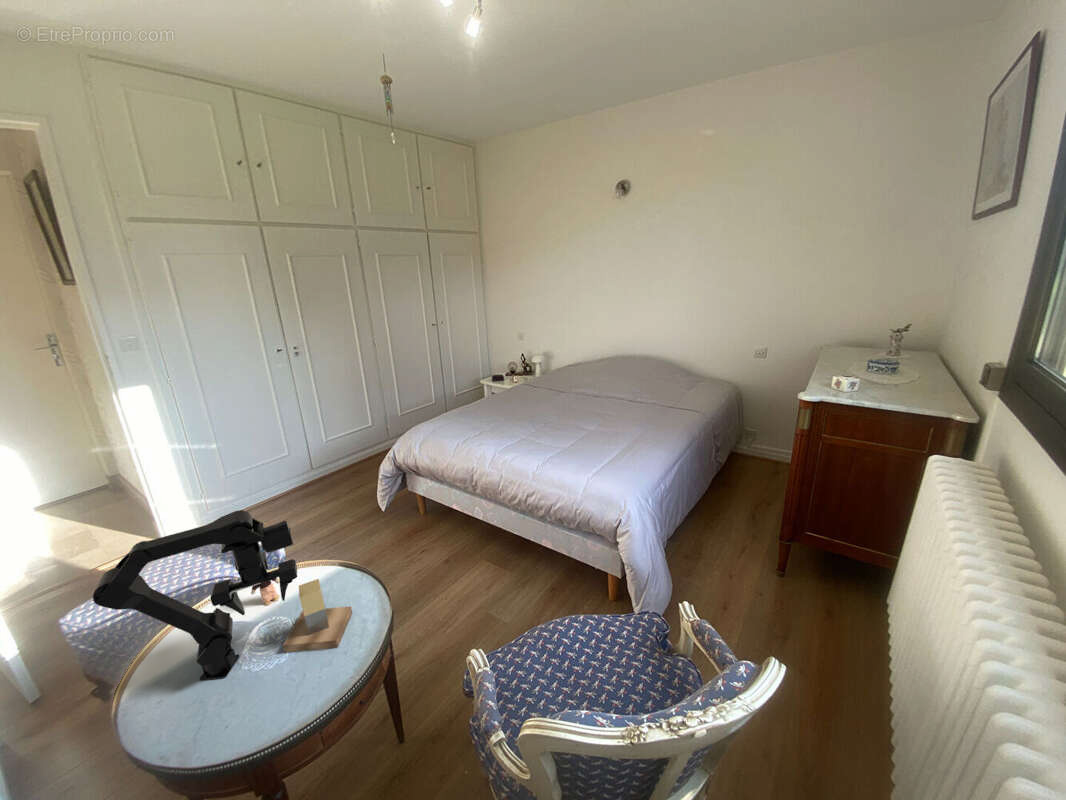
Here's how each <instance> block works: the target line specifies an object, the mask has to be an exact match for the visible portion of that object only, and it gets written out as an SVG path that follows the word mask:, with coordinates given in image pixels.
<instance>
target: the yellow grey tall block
mask: <svg viewBox="0 0 1066 800" xmlns="http://www.w3.org/2000/svg"><path fill="white" fill-rule="evenodd" d="M322 591H323V590H322V587H321V583H320V579H319V578H316V579H313V580H311V581H308V582H305V583H302V584H299V585H298V595H299V601H300V606H301V608H302V611H303V613H304V617H305V620H306V624H307V628H308V632H309V635H311V634H314V633H316V632H319V631H321V630H324V629H326V628H329V622H328V615H327V611H326V609H327V607H326V603H325V599H324V594H323V592H322Z"/></svg>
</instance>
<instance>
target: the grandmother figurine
mask: <svg viewBox="0 0 1066 800" xmlns="http://www.w3.org/2000/svg"><path fill="white" fill-rule="evenodd" d="M273 582H275V583H276V584H280V580H279V578H278V577H277V578H274V579H271V580H268V581H265V582H262V583H260V584H257V585H254V586H251V592H250V594H251V595H255V593H256V591H257V590H258V588H259V594H260V596H261V599H262V601H263V602H262V604H263V605H264V606H269V605H271V603H272V602H274V603H275V602H277V601H278V600H279V598H280V595H279V594H278V593H277V590H276V587H275V586H274V584H273ZM271 600H272V601H271Z"/></svg>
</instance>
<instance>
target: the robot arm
mask: <svg viewBox="0 0 1066 800" xmlns="http://www.w3.org/2000/svg"><path fill="white" fill-rule="evenodd" d="M259 542H260V543H261V547H262V550H263V551H262V550H261V547H260V543H259ZM211 545H221V548H220V549H221V550H220V553H221V554H225V553H229V552H231V553H232V556H233V559H234V566H235V571H237V573H238V575H239V578H240V580H241V581H237V582H235V583H234V582H233V580H232V578H229V579H225V580H223V581H220V582H216V583H214V585H213V586H212V589H211V595H210V603H211V605H212V606H214V607H216V608H215V609H214V610H213V612H204V611H203V612H202V611H201V610H198V609H196V608H194V607H193V606H190V605H188V604H185V603H183V602H181V601H179V600H176V599H175V598H173V597H171V596H168V595H167V594H165V593H162V592H160V591H158V590H155V589H153V588H152V587H150V585H148V583H147V582H146V580H145V579H144V578H143V576H141V575H140V573H141V572H142V571H143V569H144V568H145V567H146V566H147V564H148V563H151V562H155V561H157V560H162V559H166V558H168V557H172V556H175V555H178V554H183V553H186V552H189V551H193V550H196V549H199V548H202V547H206V546H211ZM291 546H294V540H293V535H292V531H291V526H290V527H289V524H288V521H287V520H283V521H279V522H278V523H276V524H272V525H269V526H266V527H264V523H263V522H261V521H259V520H257V519H255V518H254V517H253V516H252V515H251V514H250V513H249V512H248V511H245V510H244V509H240V510H235V511H232V512H229V513H227V514H224V515H222V516H220V517H219V518H217V519H216V520H214V521H213V522H210V523H208V524H206V525H201V526H198V527H194V528H192V529H188V530H184V531H180V532H176V533H172V534H170V535H166V536H162V537H158V538H153V539H151V540H143V541H142V540H141V541H139V542H137V543H136V544H134V545H133V546H132V547H131V549H130V551H129V552H128V553H126V554H125V556H123V558H122V559H120V561H119V562H118V563H117V564H116V565H115V567H113V568H110V569H109V570H107V571H105V572H104V573H103V574H102V575H101V577H100V579H99V581H98V583H97V585H96V587H95V590H94V592H93V594H92V600H93V603H94V604H95V605H96V606H99V607H102V608H107V609H111V610H115V611H121V610H134V611H136V612H139V613H141V614H144V615H145V616H148V617H150V618H153V619H155V620H158V621H159V622H162V623H164V624H167V625H169V626H172V627H174V628H176V629H178V630H181V631H183V632H186V633H188V634H189V635H190V636H191V637H192V638H193V640H194V641H195V642H196V644H197V645H198V648H197V655H196V656H197V657H196V663H197V664H198V665H199V666H201V670H202V672H203V673H202V674H201V675H200V677H199V680H200V681H206V680H207V681H208V680H214V679H215V680H217V679H224V678H227V677H228V675H229V673H230V672H231V671H232V669H233V668H234V666H235V665H236V663H237V661H238V660H239V658H240V654H237V653H235V649H234V648H232V645H231V642H232V640H233V628H234V621H233V620H234V619H233V618H232V617H231V612H225V611H223V610H221V608H218V607H217V606H220V607H224V606H225V607H227V608H229V609H232V610H234V611H235V612H237V613H239V614H240V615H241V616H246V615H245V613H246V611H245V608H244V606H243V603H242V601H241V599H240V597H239V595H238V592H239V591H242V590H245V589H247V588H252V587H253V586H254V585H257V584H260V583H262V582H265V581H268V580H271V579H274V578H277V579H278V580H280V583H279V588H280V589H279V591H280V596H281V600H282V602H284V601H285V599H286V592H287V589H288V586H289V584H291V583H292V582H293V581H294V580H295V579H296V578H298V565H297V562H296V560H295V559H292V558H291V559H289V560H286V561H283V562H280V563H278V566H277V567H278V568H277V569H272V570H270V571H268V570H269V564H268V558H267V554H269V553H270V554H271V553H273V552H274V553H275V552H276V551H280V550H282V549H285V548H288V547H291ZM266 553H267V554H266ZM271 581H272V580H271Z"/></svg>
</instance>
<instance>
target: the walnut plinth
mask: <svg viewBox="0 0 1066 800" xmlns="http://www.w3.org/2000/svg"><path fill="white" fill-rule="evenodd" d="M326 611H327V615H328V622H329V628H326V629H324V630H321V631H319V632H316V633H314V634H311V635H309V632H308V628H307V624H306V620H305V617H304V613H303V610H301V613H300V614H299V616H298V618H297V620H296V622H295V623H294V625H293V628H292V629H291V630H290V632H289V634H288V636H287V638H286V639H285V641H284V642H283V645H282V646H283V649H284V653H292V652H293V653H294V652H303V651H305V652H306V651H314V650H316V651H317V650H323V649H325V650H326V649H334V648H336V649H337V648H339V646H340V644H341V642H342V639H343V637H344V635H345V632H346V629H347V627H348V625H349V623H350V622H349V621H350V619H351V617H352V615H353V610H352V606H339V607H329V608H327V607H326Z"/></svg>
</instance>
